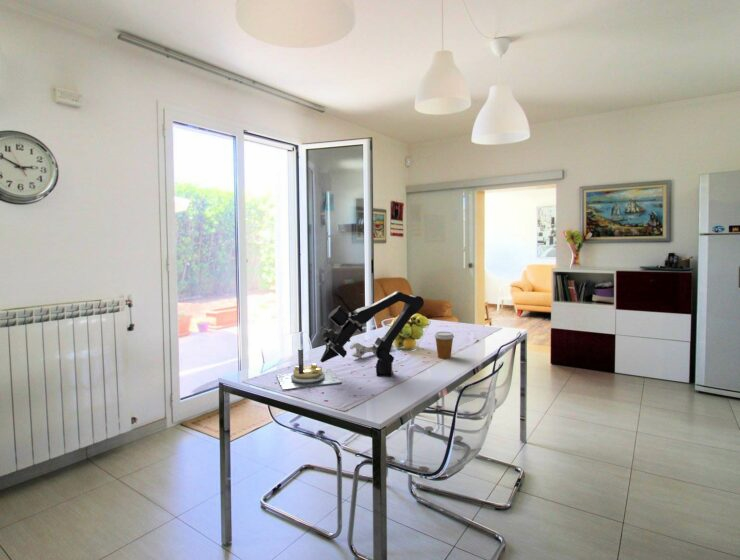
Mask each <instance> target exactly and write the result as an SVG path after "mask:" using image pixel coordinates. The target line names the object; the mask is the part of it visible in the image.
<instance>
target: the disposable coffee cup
mask: <svg viewBox="0 0 740 560" xmlns="http://www.w3.org/2000/svg"><path fill="white" fill-rule="evenodd" d="M454 337H455V335H454V333H453V332H451V331H437V332H435V335H434V339H435V344H436V345H435V346H436V351H437V357H438V358H439V359H450V358H451V357H452V348H453V342H454V341H453V340H454Z"/></svg>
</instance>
